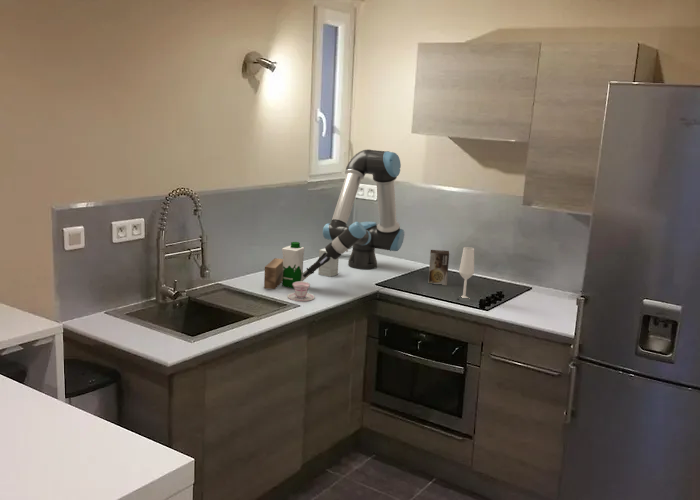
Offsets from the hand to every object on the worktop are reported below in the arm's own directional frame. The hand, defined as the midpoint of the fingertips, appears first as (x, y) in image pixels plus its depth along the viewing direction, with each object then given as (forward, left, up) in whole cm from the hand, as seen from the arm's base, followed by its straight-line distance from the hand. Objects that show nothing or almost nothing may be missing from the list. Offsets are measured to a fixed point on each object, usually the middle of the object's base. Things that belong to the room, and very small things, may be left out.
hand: (299, 280), depth 324 cm
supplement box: (-9, -26, -3) cm, 27 cm away
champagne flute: (-76, -6, -3) cm, 76 cm away
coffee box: (-63, -29, -3) cm, 69 cm away
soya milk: (+3, 0, -3) cm, 5 cm away
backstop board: (+12, 0, -3) cm, 12 cm away
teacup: (-5, +16, -3) cm, 17 cm away
